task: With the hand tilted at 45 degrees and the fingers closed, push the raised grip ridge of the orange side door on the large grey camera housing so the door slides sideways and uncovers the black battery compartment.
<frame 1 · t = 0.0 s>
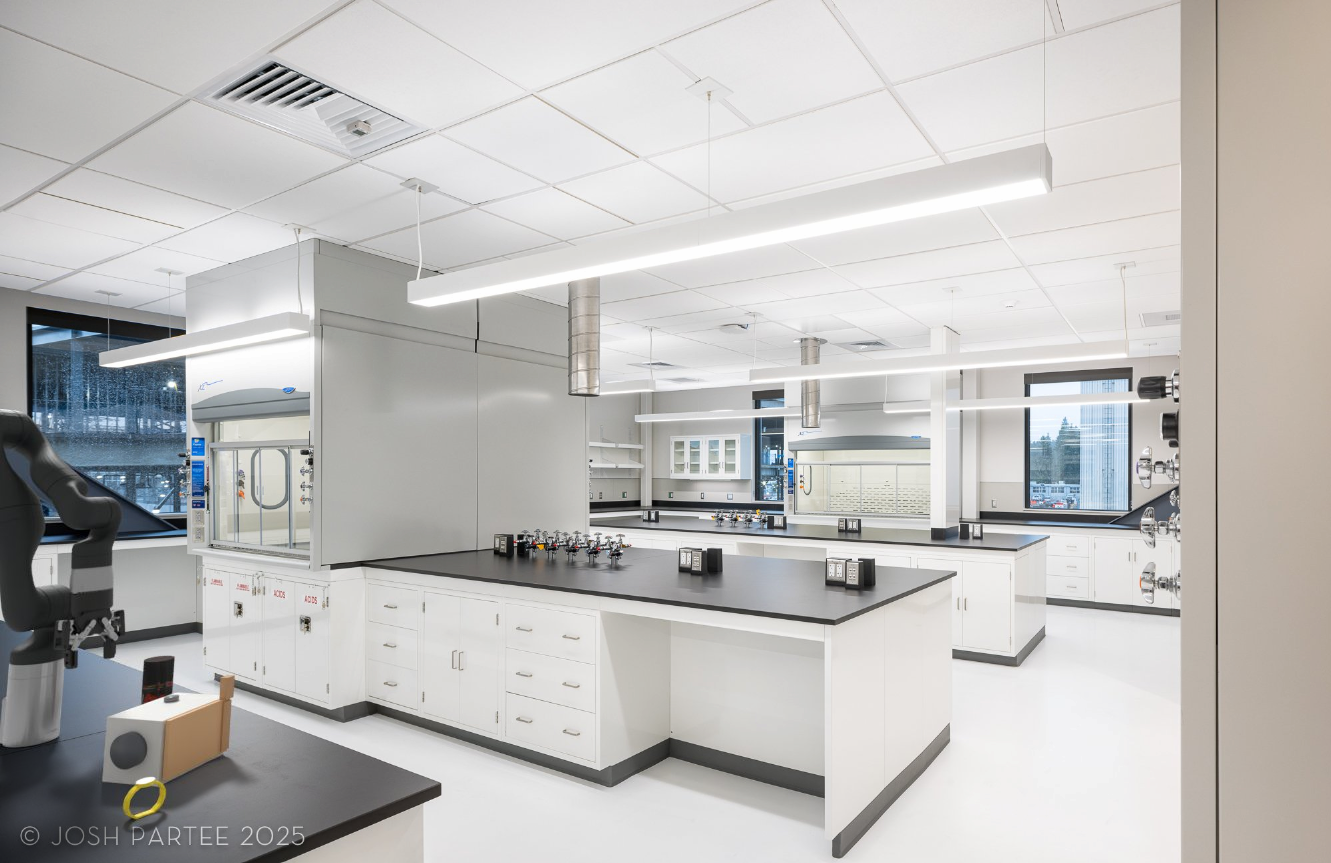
hand: (90, 663, 153), 17 cm above the lab bench, tool pointing down, fingers open, 8 cm apart
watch: (143, 816, 121), on the lab bench
deodorant: (155, 724, 165), on the lab bench
side door: (200, 724, 140), point 9 cm above the lab bench, slide at 0.0 cm
disk drive: (139, 746, 153), on the lab bench
camera housing: (165, 767, 140), on the lab bench
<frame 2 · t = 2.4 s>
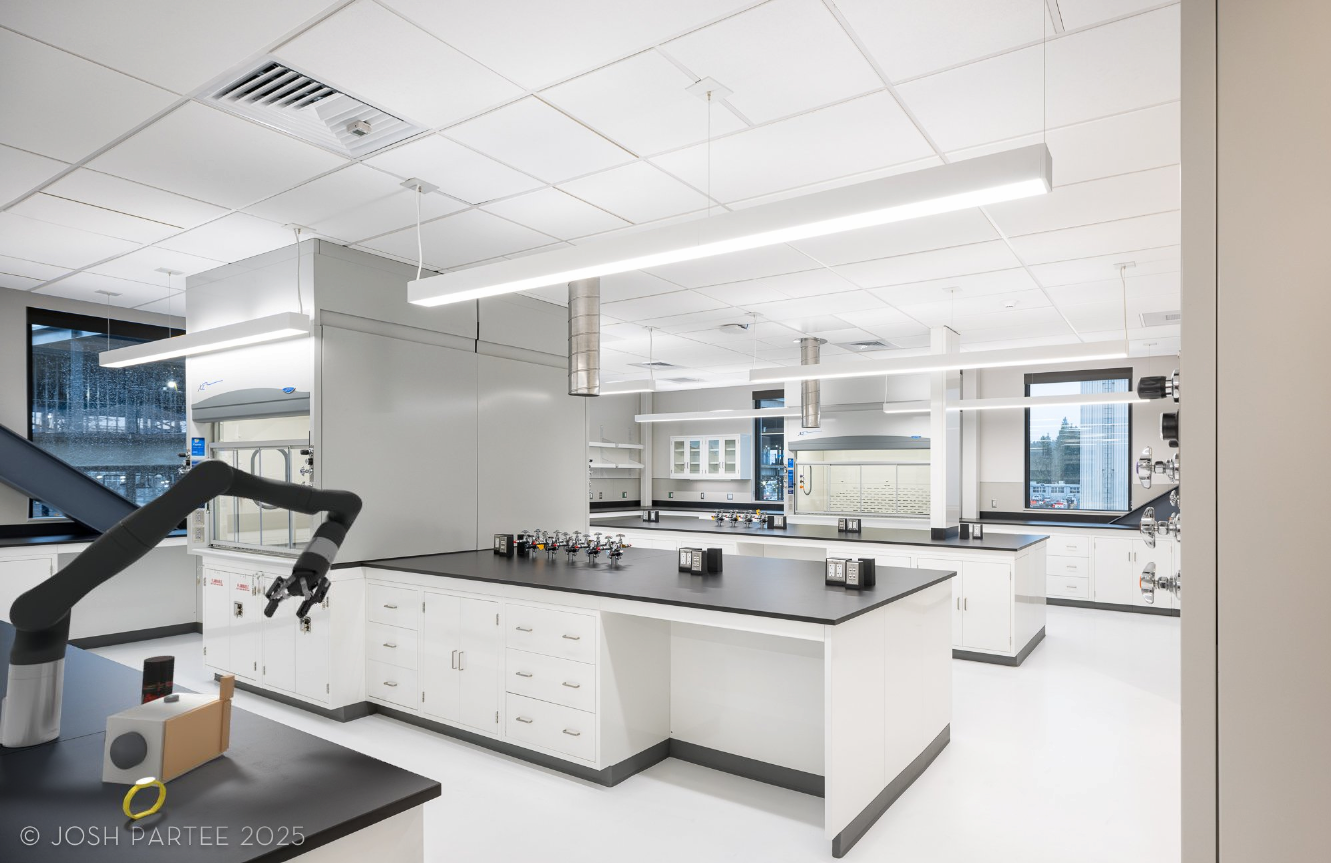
hand: (283, 616, 164), 26 cm above the lab bench, tool tilted 45°, fingers open, 8 cm apart
nothing on the lab bench moved.
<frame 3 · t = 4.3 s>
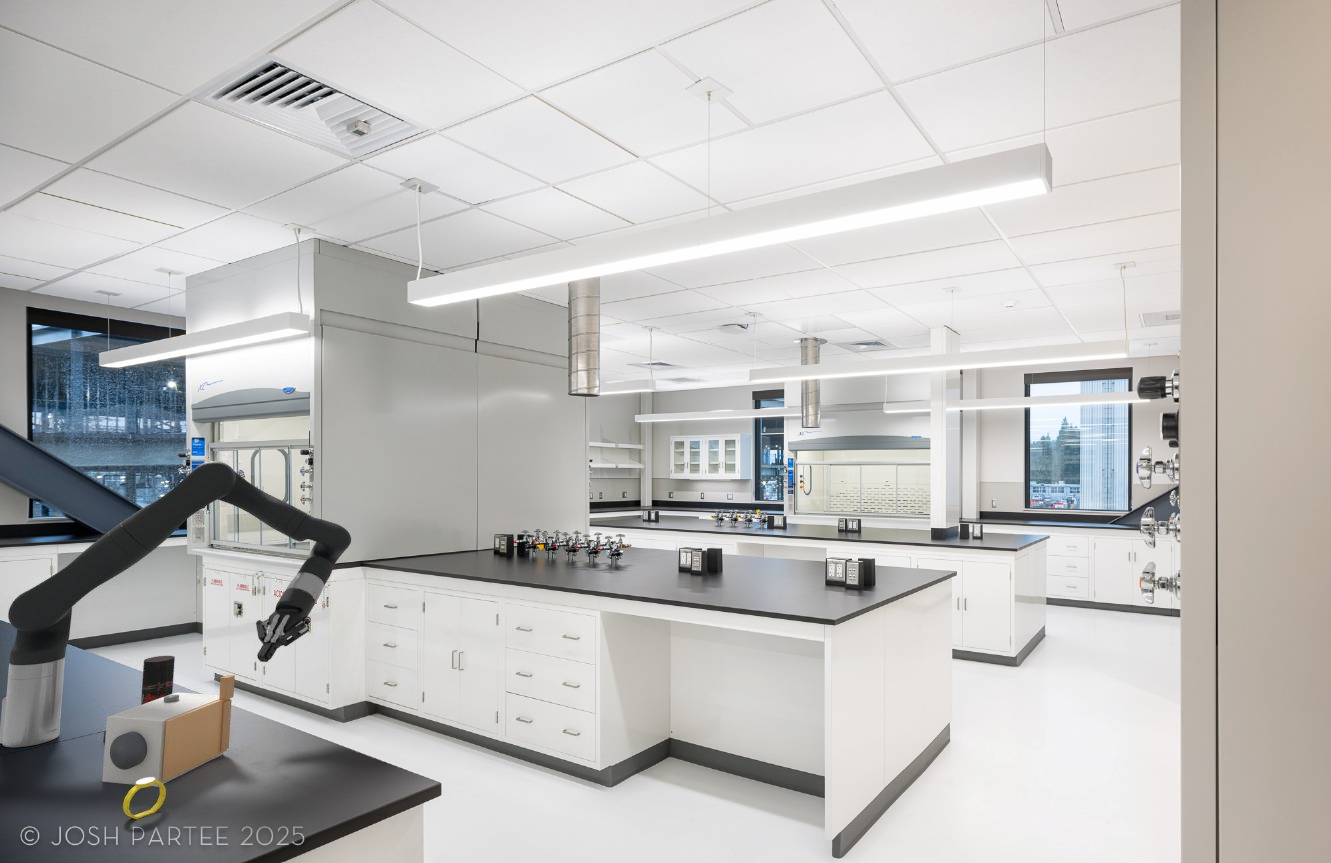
hand: (262, 659, 157), 17 cm above the lab bench, tool tilted 45°, fingers closed
nothing on the lab bench moved.
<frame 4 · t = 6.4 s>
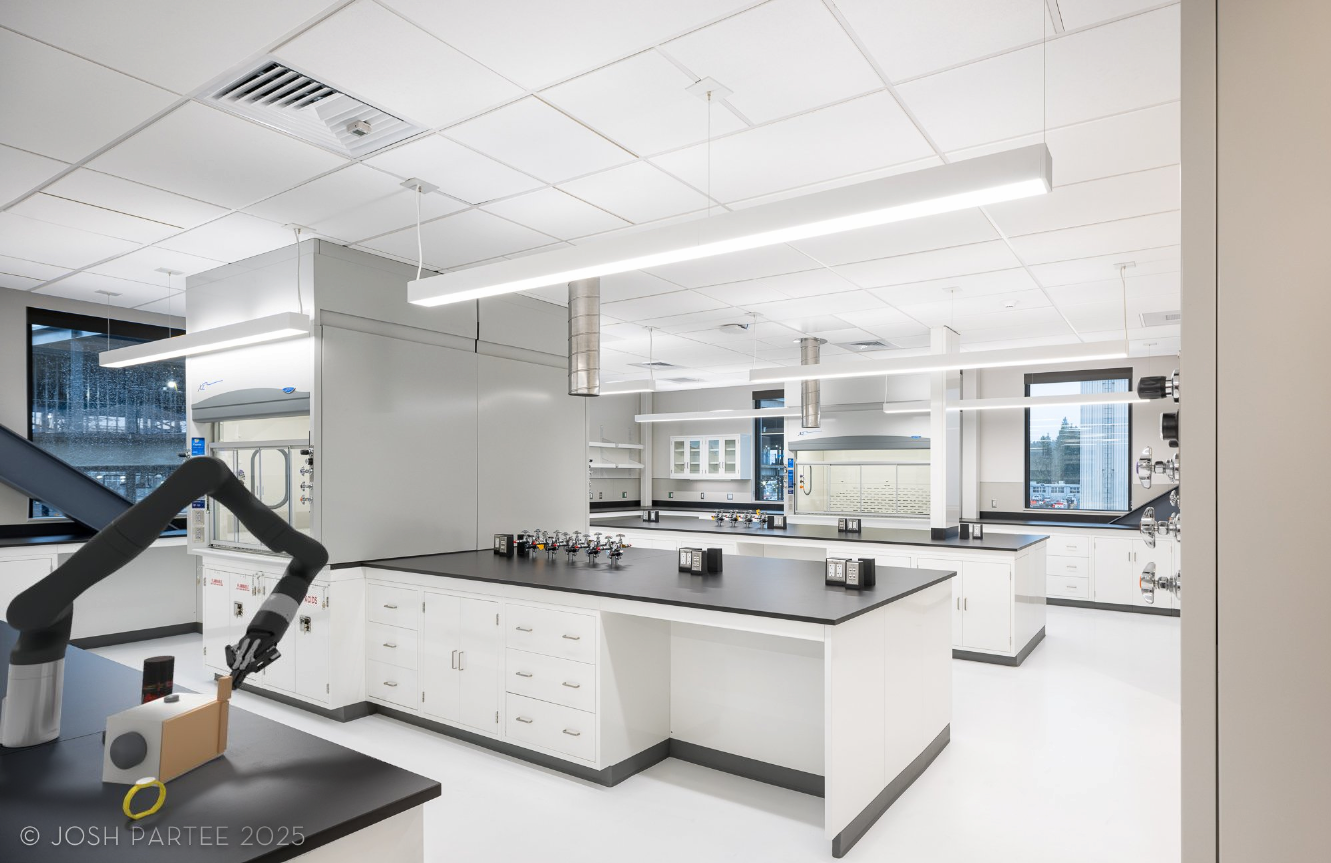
hand: (230, 688, 148), 14 cm above the lab bench, tool tilted 45°, fingers closed
side door: (198, 725, 139), point 9 cm above the lab bench, slide at 0.6 cm, touching gripper
everything else where it was.
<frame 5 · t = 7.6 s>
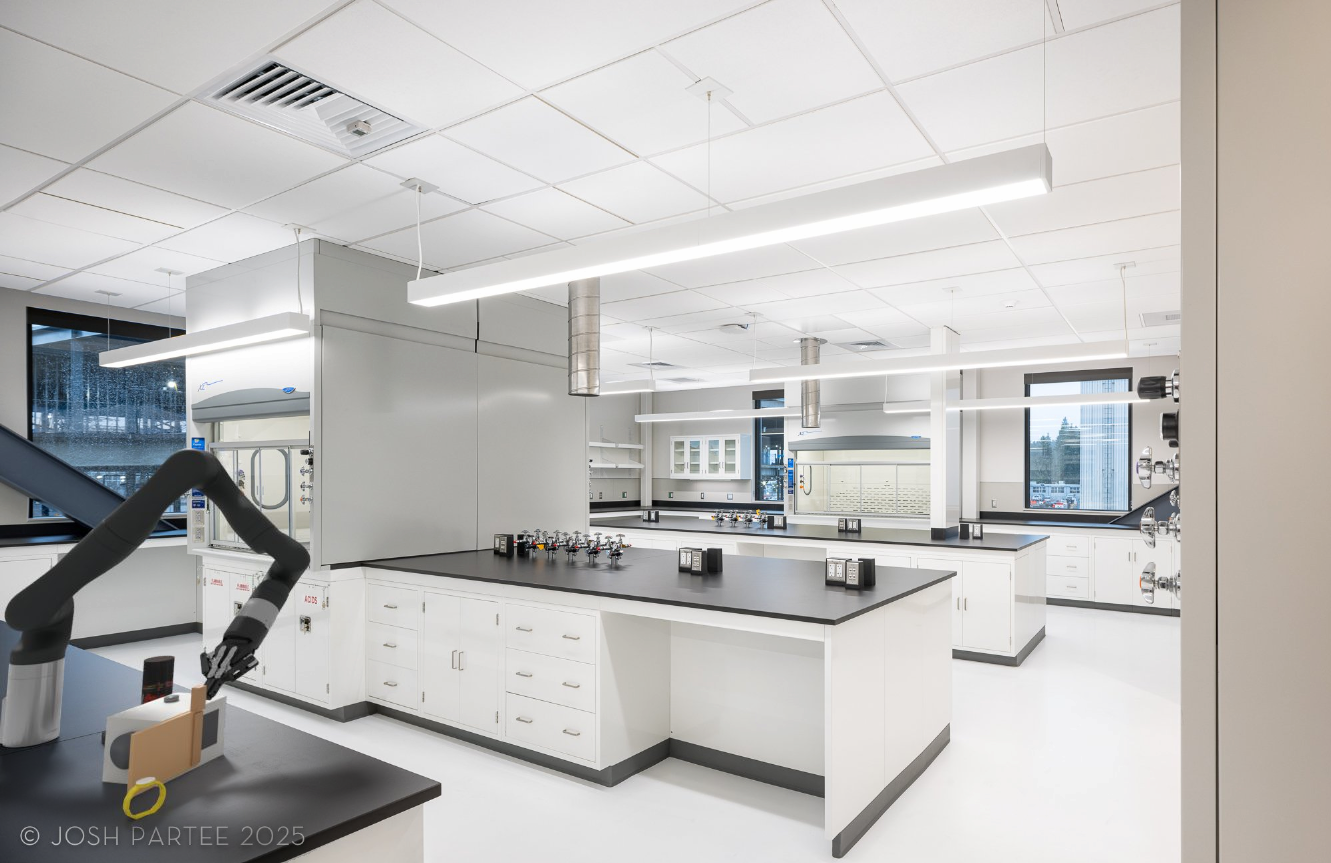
hand: (204, 698, 141), 14 cm above the lab bench, tool tilted 45°, fingers closed
side door: (169, 738, 133), point 9 cm above the lab bench, slide at 7.5 cm, touching gripper
everything else where it was.
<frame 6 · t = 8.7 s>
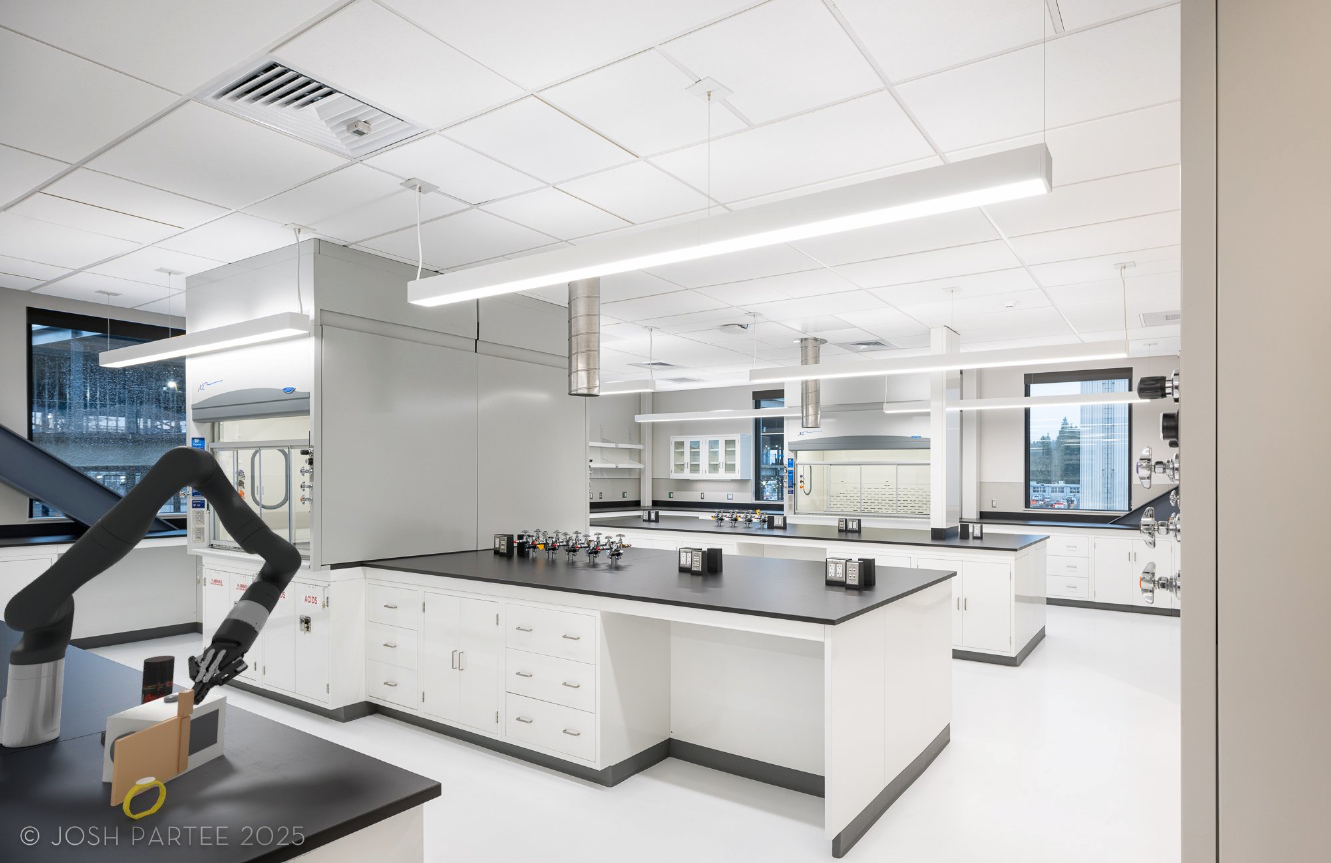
hand: (191, 702, 138), 14 cm above the lab bench, tool tilted 45°, fingers closed
side door: (154, 744, 130), point 9 cm above the lab bench, slide at 10.6 cm, touching gripper
everything else where it was.
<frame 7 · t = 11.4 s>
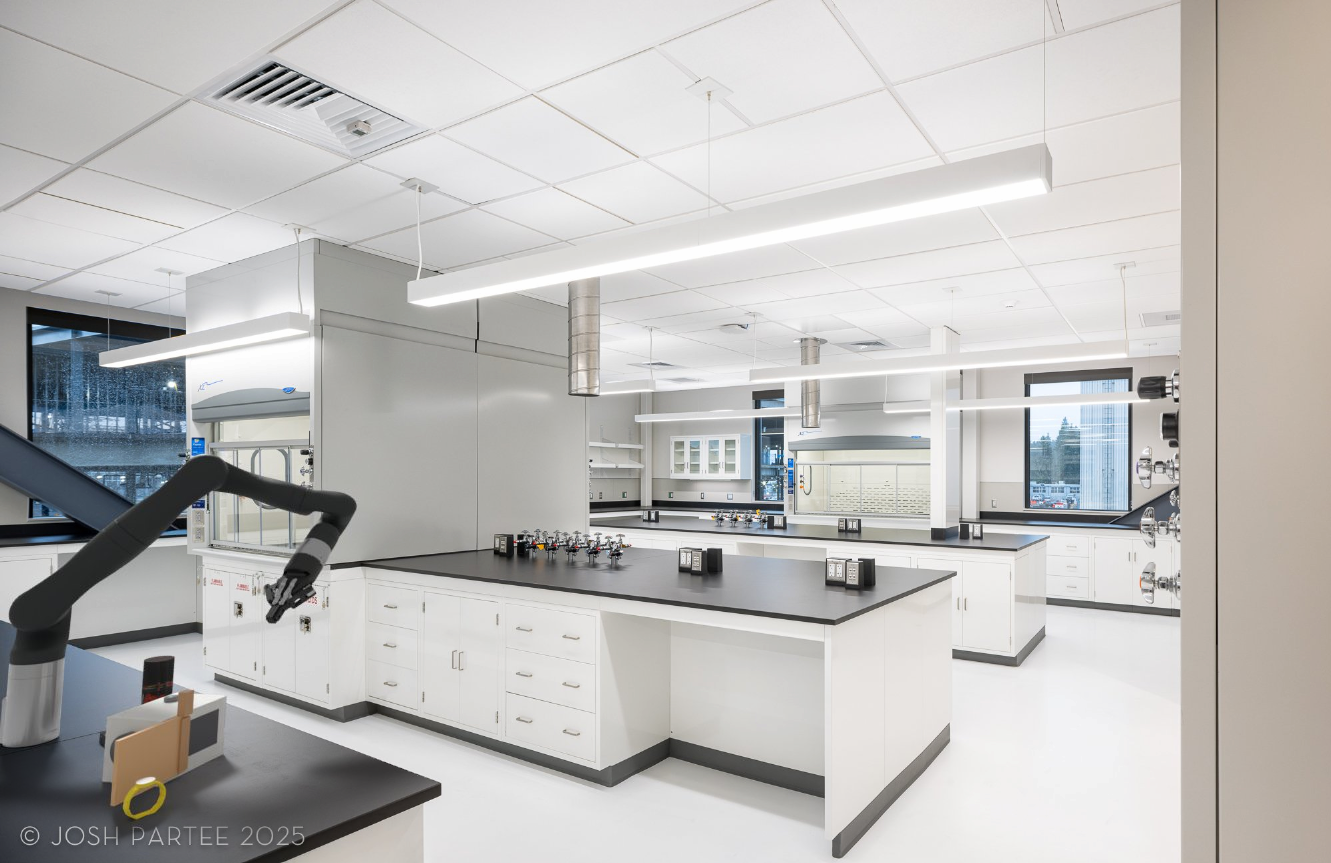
hand: (270, 621, 159), 26 cm above the lab bench, tool tilted 45°, fingers closed
side door: (154, 744, 130), point 9 cm above the lab bench, slide at 10.6 cm
everything else where it was.
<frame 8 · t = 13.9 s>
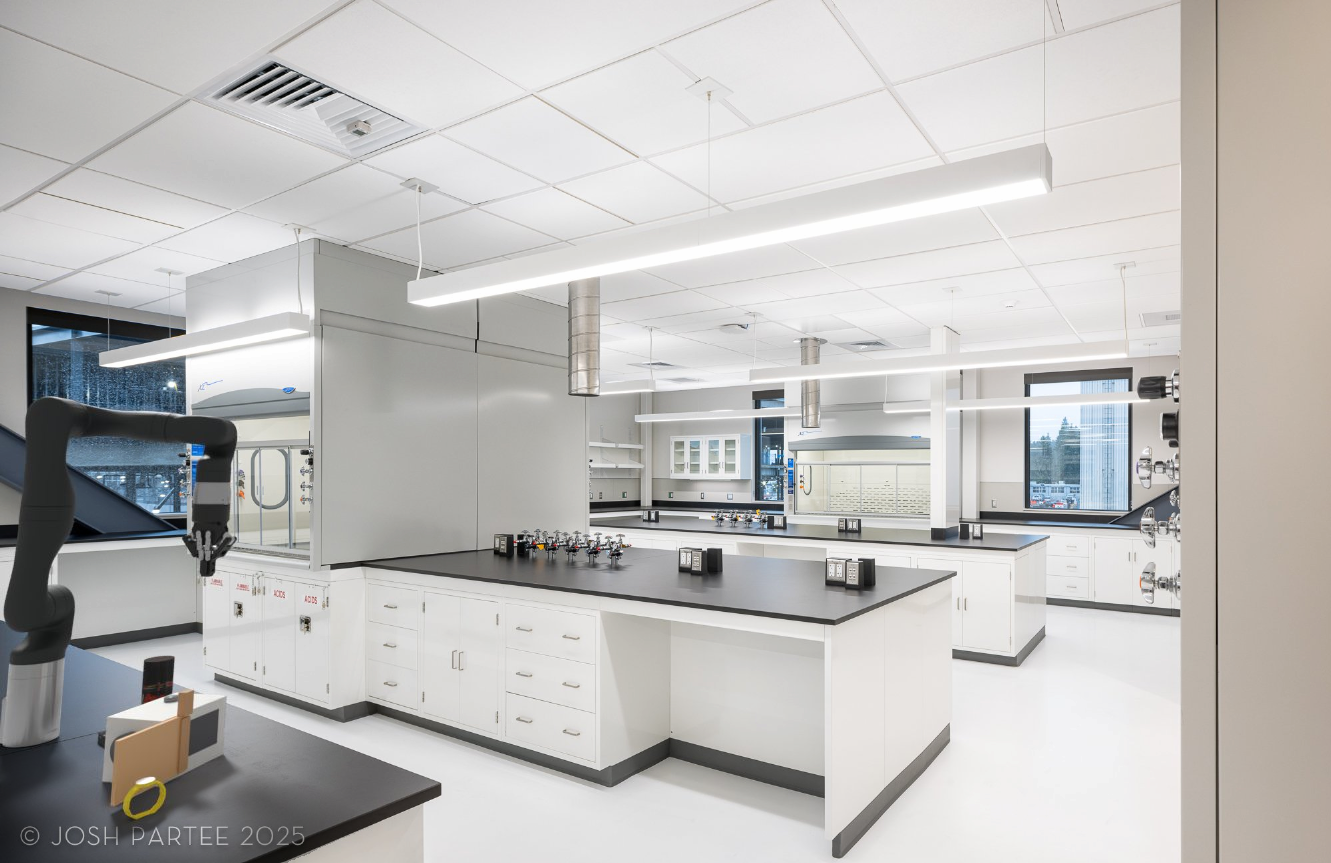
hand: (207, 576, 163), 35 cm above the lab bench, tool pointing down, fingers closed
nothing on the lab bench moved.
at the end: side door slide at 10.6 cm; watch moved 0.3 cm from its start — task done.
